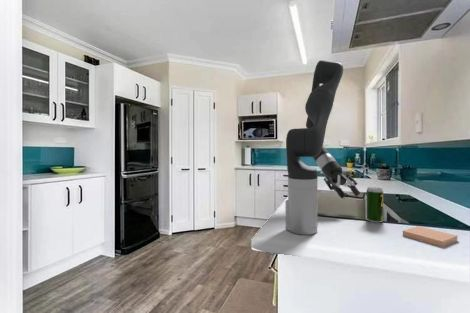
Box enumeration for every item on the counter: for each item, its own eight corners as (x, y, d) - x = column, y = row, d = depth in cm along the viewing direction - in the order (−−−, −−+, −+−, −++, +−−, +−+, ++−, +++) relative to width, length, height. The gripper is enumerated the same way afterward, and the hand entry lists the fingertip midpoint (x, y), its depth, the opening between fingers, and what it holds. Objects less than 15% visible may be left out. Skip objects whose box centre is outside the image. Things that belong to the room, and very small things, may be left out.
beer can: (367, 222, 88) (367, 189, 88) (365, 218, 93) (365, 186, 93) (384, 223, 86) (384, 189, 86) (381, 219, 91) (382, 187, 91)
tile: (402, 230, 75) (442, 241, 66) (418, 226, 79) (457, 235, 70) (402, 237, 75) (442, 248, 66) (417, 232, 79) (457, 242, 70)
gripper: (321, 160, 103) (344, 192, 93) (344, 159, 109) (368, 188, 99) (312, 172, 108) (333, 203, 98) (335, 170, 114) (357, 199, 104)
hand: (351, 196), depth 99 cm, fingers open, 8 cm apart
